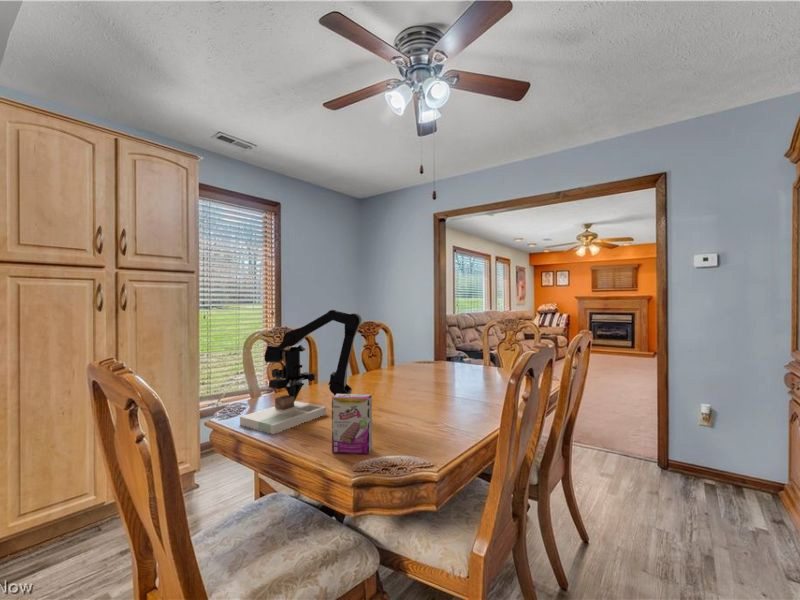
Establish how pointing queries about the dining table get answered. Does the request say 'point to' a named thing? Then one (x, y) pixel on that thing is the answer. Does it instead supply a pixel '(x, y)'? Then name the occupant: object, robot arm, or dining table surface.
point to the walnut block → (284, 402)
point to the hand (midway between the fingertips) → (292, 401)
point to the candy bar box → (352, 423)
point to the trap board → (282, 417)
